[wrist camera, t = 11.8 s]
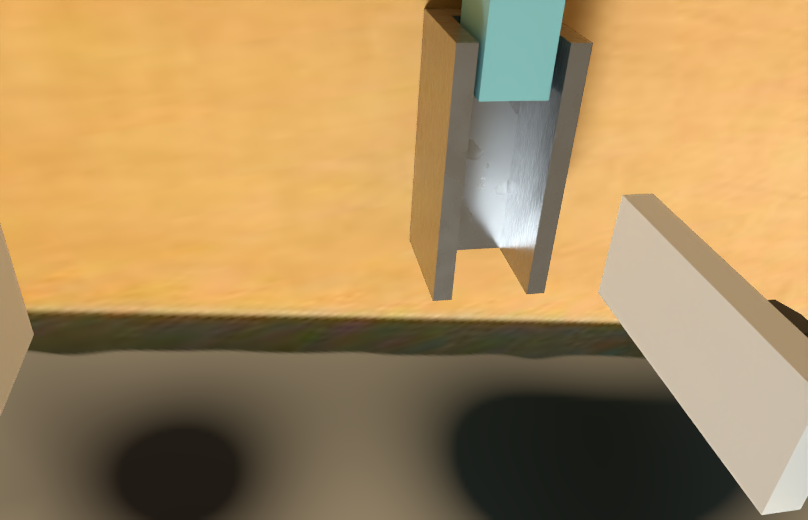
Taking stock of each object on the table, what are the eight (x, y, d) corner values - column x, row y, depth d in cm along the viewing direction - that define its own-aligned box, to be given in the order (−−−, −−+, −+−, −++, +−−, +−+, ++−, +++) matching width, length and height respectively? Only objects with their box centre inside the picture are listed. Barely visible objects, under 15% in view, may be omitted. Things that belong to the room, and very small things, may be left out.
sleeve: (409, 239, 49) (432, 300, 43) (424, 8, 41) (456, 42, 35) (507, 234, 51) (544, 292, 45) (542, 9, 42) (592, 42, 36)
